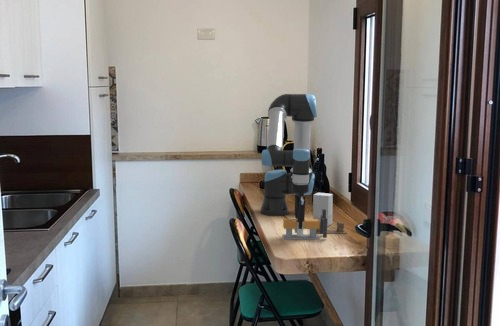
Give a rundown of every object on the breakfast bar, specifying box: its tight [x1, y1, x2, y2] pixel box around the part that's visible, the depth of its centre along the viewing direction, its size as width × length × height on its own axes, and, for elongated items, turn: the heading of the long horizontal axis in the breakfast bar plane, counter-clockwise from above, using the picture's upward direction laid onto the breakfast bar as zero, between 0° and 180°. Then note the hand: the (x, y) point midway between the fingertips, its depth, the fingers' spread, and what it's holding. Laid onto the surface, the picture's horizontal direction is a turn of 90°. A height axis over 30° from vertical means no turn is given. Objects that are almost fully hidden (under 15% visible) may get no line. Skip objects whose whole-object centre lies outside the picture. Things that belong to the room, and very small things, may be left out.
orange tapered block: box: [282, 218, 320, 230], centre depth 233 cm, size 4×16×4 cm, turn 94°
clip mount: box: [282, 229, 321, 241], centre depth 234 cm, size 6×16×4 cm, turn 94°
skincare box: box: [312, 192, 334, 227], centre depth 257 cm, size 8×7×16 cm
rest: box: [316, 221, 348, 235], centre depth 244 cm, size 6×16×4 cm, turn 94°
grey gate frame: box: [319, 209, 328, 239], centre depth 234 cm, size 7×2×12 cm, turn 5°
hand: (298, 233), depth 234 cm, fingers closed on orange tapered block, 4 cm apart
